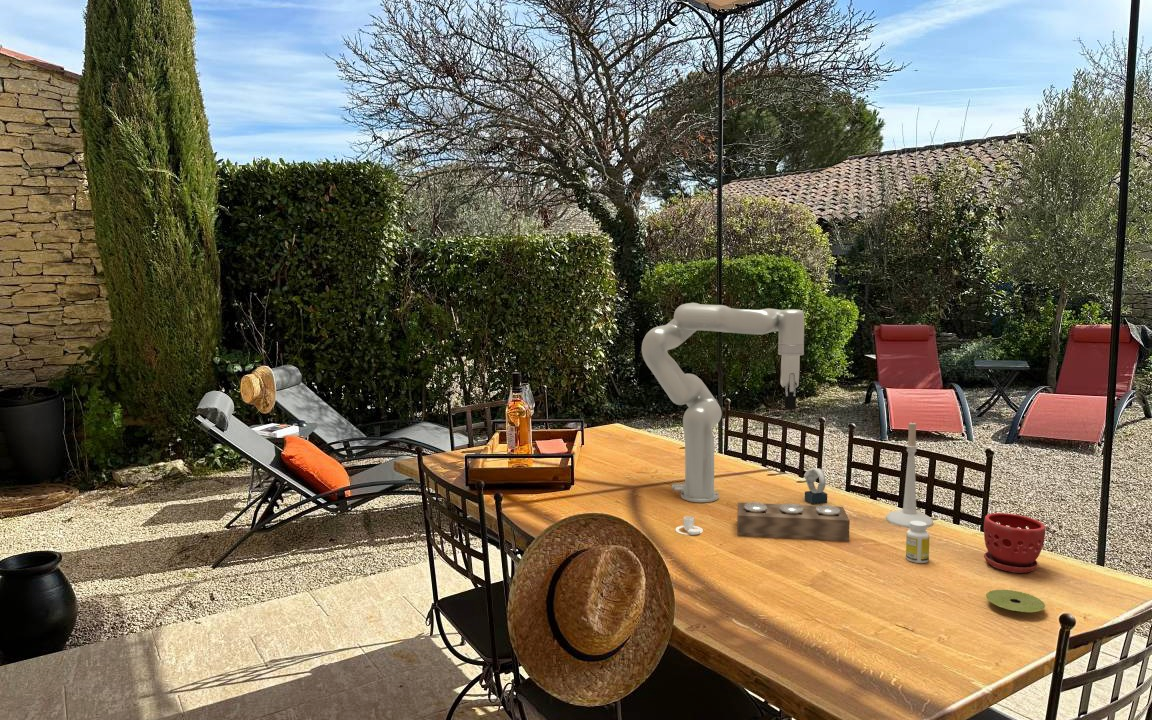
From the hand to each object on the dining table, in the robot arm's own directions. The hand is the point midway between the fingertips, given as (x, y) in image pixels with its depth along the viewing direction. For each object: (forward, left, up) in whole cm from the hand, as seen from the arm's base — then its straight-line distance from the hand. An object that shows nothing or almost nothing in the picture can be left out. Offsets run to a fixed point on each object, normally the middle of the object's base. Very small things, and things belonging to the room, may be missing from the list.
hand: (790, 408), depth 231 cm
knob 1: (-11, -21, -30) cm, 38 cm away
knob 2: (+9, -21, -30) cm, 38 cm away
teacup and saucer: (-32, -27, -33) cm, 53 cm away
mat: (+43, -64, -32) cm, 84 cm away
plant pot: (+51, -39, -32) cm, 72 cm away
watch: (+9, +8, -32) cm, 34 cm away
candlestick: (+34, -7, -32) cm, 47 cm away
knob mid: (-1, -21, -30) cm, 37 cm away
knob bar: (-1, -21, -32) cm, 38 cm away
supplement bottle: (+29, -38, -32) cm, 58 cm away
